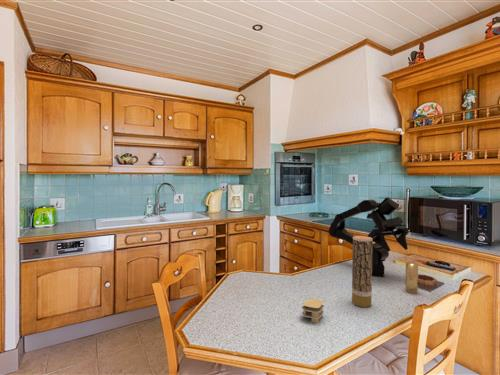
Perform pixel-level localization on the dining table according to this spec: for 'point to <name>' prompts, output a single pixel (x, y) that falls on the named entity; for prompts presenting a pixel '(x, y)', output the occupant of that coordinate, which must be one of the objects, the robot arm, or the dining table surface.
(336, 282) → the dining table surface
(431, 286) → the brown base plate
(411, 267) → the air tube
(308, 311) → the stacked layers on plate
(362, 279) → the bark covered log
